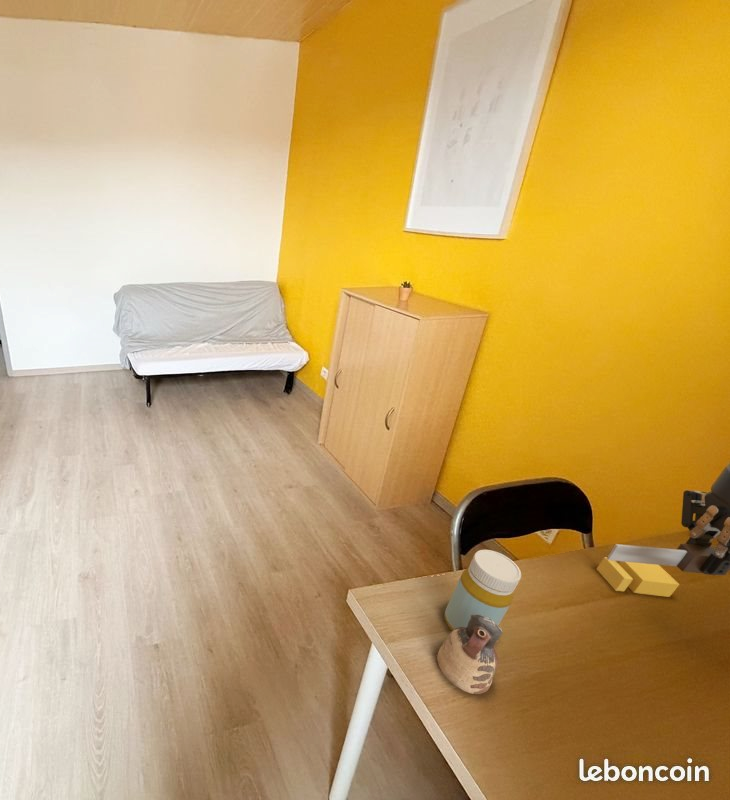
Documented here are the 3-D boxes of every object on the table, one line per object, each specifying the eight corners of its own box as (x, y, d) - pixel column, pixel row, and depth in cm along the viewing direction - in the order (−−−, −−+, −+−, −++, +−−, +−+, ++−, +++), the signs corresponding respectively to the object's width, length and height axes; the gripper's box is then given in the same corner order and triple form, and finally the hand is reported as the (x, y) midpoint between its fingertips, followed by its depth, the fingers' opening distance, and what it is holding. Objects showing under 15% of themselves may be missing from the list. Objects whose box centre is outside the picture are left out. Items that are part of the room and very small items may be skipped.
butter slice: (602, 571, 81) (612, 557, 80) (622, 593, 77) (633, 579, 75) (594, 570, 82) (604, 556, 80) (613, 592, 77) (624, 578, 75)
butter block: (645, 576, 81) (656, 562, 79) (667, 599, 76) (679, 584, 74) (611, 573, 81) (621, 558, 79) (632, 594, 77) (643, 580, 75)
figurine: (497, 679, 63) (528, 629, 57) (473, 706, 59) (504, 656, 54) (450, 640, 68) (475, 591, 63) (426, 663, 65) (449, 614, 59)
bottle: (433, 616, 72) (461, 555, 65) (461, 602, 75) (490, 542, 68) (471, 653, 66) (505, 590, 59) (499, 637, 69) (535, 575, 62)
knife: (710, 563, 66) (723, 546, 65) (725, 575, 64) (739, 559, 63) (601, 553, 68) (611, 537, 66) (613, 565, 66) (623, 548, 64)
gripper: (865, 514, 51) (774, 606, 59) (745, 451, 63) (683, 534, 71) (795, 509, 52) (715, 601, 60) (691, 447, 64) (636, 530, 72)
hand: (698, 564), depth 65 cm, fingers closed on knife, 2 cm apart
